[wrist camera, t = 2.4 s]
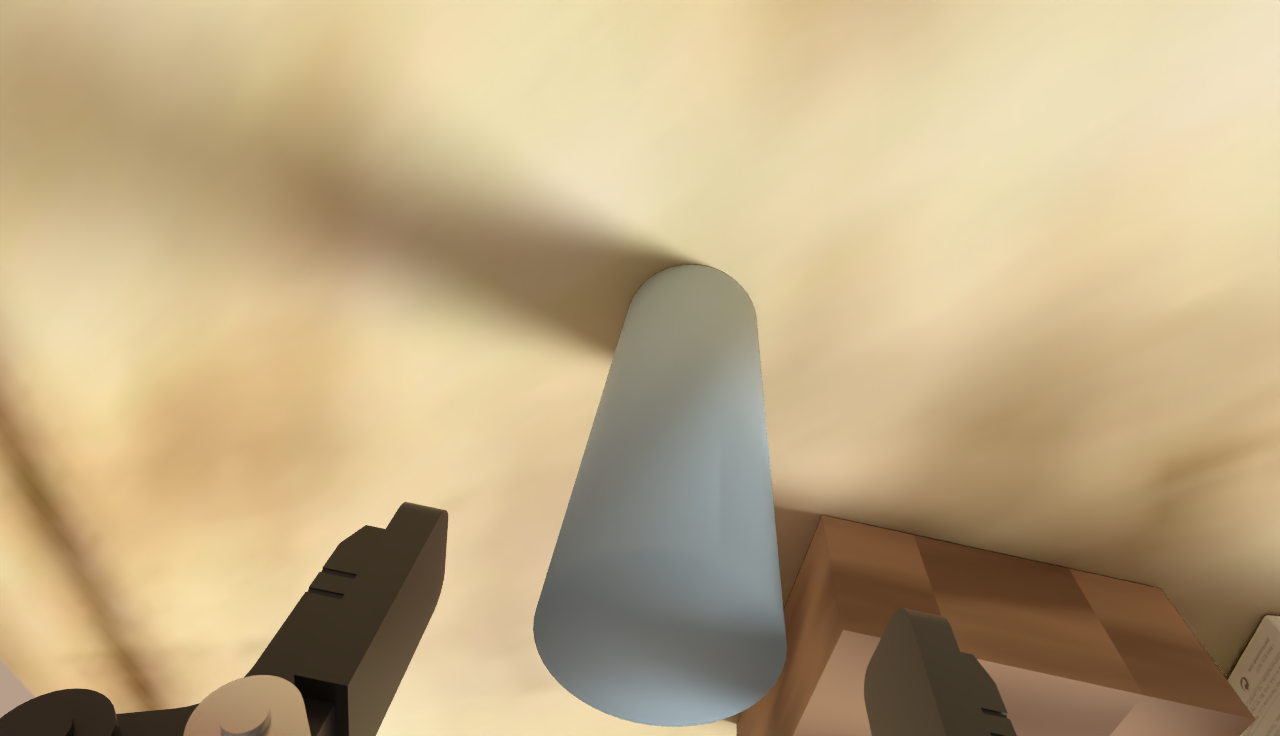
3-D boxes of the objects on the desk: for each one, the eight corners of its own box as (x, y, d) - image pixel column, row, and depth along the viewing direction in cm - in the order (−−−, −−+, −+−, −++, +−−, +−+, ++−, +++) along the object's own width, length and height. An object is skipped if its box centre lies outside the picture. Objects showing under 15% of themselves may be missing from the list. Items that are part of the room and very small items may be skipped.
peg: (639, 251, 21) (549, 522, 10) (772, 280, 21) (820, 581, 10) (616, 368, 23) (521, 697, 12) (738, 394, 23) (749, 747, 12)
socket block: (822, 515, 24) (843, 630, 20) (1160, 588, 24) (1255, 719, 20) (736, 725, 30) (738, 849, 26) (1009, 784, 30) (1057, 920, 26)
